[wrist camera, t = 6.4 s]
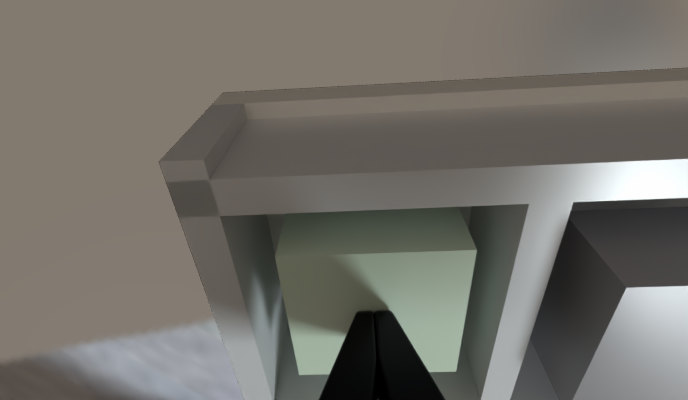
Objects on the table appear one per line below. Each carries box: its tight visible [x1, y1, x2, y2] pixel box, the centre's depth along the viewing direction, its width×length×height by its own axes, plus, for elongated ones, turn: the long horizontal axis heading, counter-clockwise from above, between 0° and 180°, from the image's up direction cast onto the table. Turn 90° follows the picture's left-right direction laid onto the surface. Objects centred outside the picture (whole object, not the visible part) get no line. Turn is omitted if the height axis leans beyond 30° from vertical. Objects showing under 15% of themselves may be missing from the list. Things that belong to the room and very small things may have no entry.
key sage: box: [275, 207, 477, 375], centre depth 10 cm, size 4×4×2 cm
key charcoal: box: [530, 206, 688, 400], centre depth 9 cm, size 4×4×2 cm
